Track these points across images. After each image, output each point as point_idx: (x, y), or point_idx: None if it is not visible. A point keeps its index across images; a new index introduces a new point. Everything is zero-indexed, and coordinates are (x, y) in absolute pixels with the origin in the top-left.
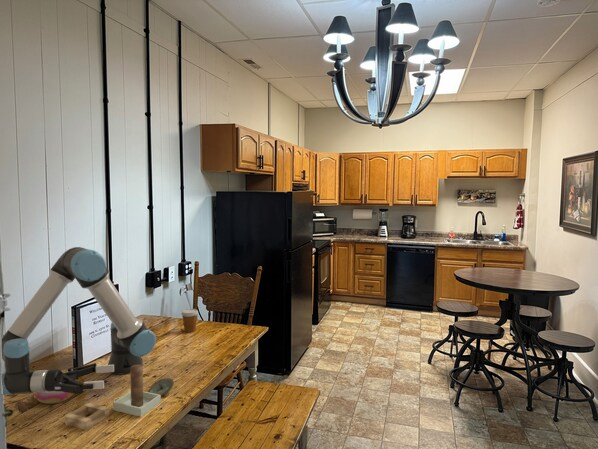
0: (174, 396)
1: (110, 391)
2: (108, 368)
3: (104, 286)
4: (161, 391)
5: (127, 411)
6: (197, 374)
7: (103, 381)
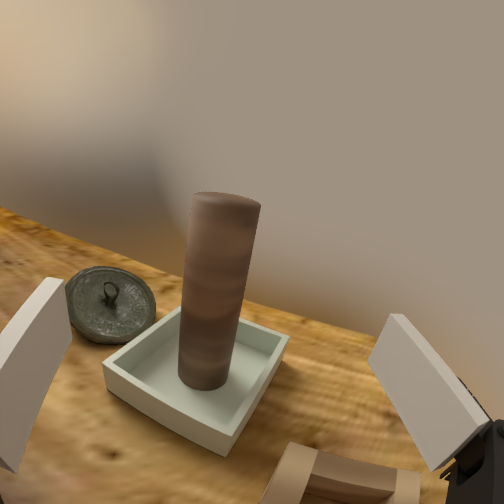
0: (156, 296)
1: (4, 470)
2: (48, 336)
3: None
4: (127, 308)
5: (262, 394)
6: (50, 253)
7: (393, 318)
